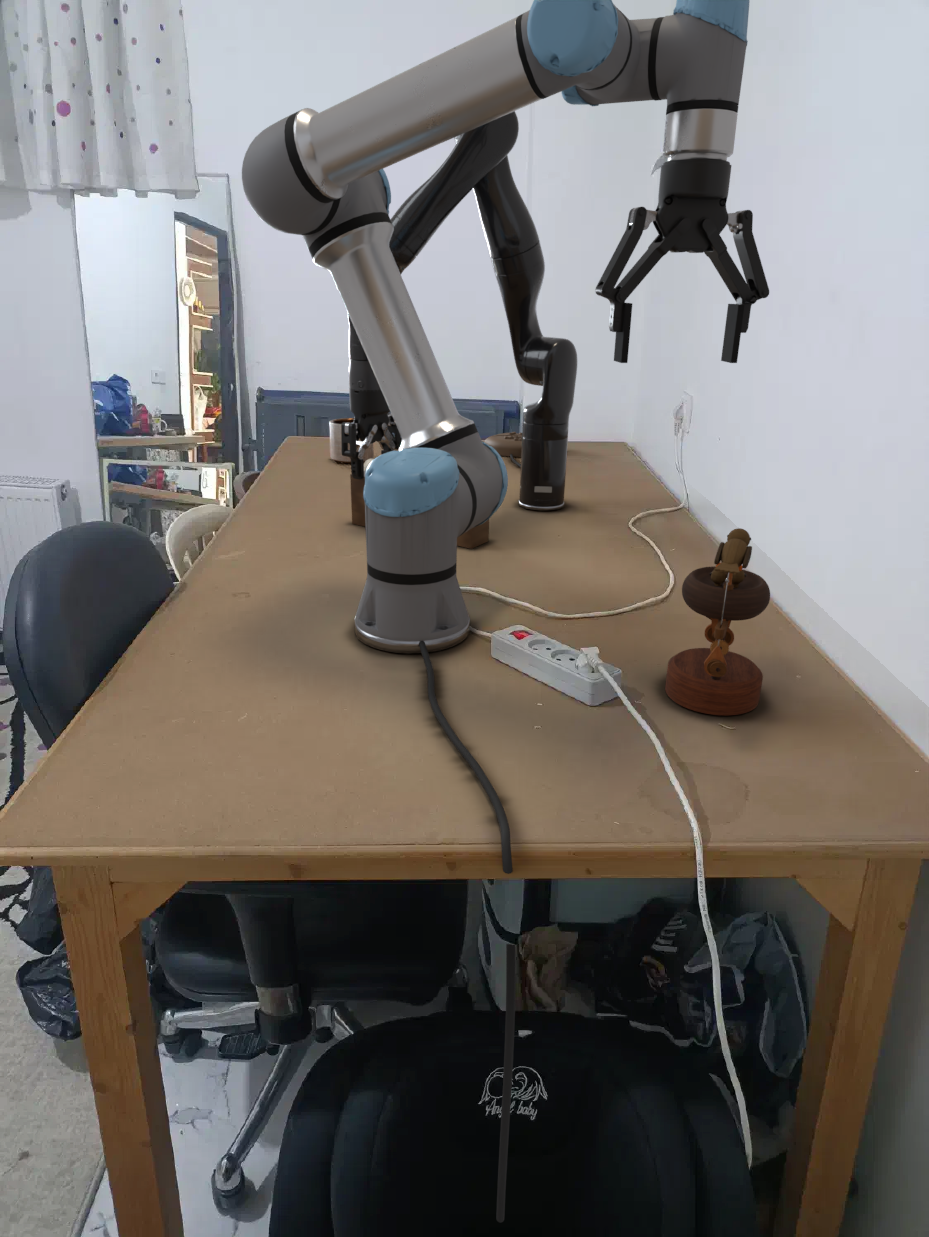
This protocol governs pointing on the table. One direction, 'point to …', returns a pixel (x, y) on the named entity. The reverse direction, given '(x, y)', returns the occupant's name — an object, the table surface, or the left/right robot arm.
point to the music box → (720, 634)
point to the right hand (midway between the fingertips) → (373, 474)
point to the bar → (467, 539)
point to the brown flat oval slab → (506, 443)
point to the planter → (337, 443)
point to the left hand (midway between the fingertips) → (675, 362)
